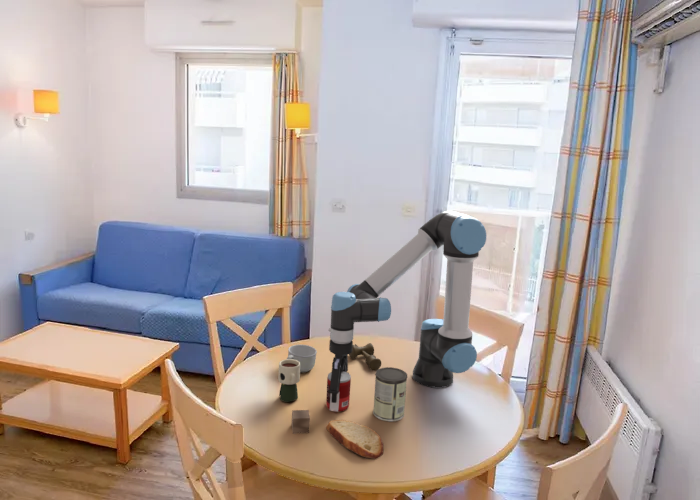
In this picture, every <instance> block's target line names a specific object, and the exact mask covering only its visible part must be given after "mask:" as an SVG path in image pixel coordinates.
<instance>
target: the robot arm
mask: <svg viewBox="0 0 700 500" xmlns="http://www.w3.org/2000/svg"><path fill="white" fill-rule="evenodd" d="M486 242H487V230H486V227H485V225H484V224H483V223H482V222H481V220H479V219H478V218H475V217H474V216H472V215H468V214H465V213H461V212H459V211H456V210H445V211H442V212H440V213H438V214H436V215H435V216H433V217H432V218H430V219H429V220H428V221H427V222H425V223H424V224H423V225H422V226H421V227H419V228H418V231H417V234H416V235H414V237H412V238H411V239H410V240H409V241H408V242H407V243H405V244H404V245H403V246H402V247H401V248H400V249H399V250H397V251H396V252H395V253H394V254H393V255H391V257H390V258H389V259H387V260H386V261H385V262H384V263H383V264H381V265H380V266H379V267H377V269H375V270H374V271H373V272H372V273H371V274H370V275H369V276H368V277H367V278H365V279H364V280H363V281H362V282H360V283H355V284H352V285H350V286H349V287H348V288H347V290H346V291H338V292H335V293H333V295H332V298H331V305H330V328H328V332H330V334H329V338H330V339H329V343H328V345H329V346H328V347H329V348H328V349H329V350H328V351H329V352H330V353H331V354H334V357H333V360H332V363H331V364H332V365H331V372H332V374H331V382H330V390H328V392H329V393H331V395H330V410H329V411H330V412H335V411H337V412H338V408H339V386H340V379H341V373H342V372H343V371H344V372H347V373H349V372H348V371H349V362H348V361H349V360H348V359H349V354H350V353H351V352H352V347H353V345H354V344H353V343H354V342H353V340H354V333H355V332H354V331H355V330H354V329H355V323H370V322H372V323H373V322H378V323H379V322H386V321H389V320H390V318H391V315H392V305H391V301H390V300H389V299H388V298H386V297H380V296H381V295H382V294H383V293H385V292H386V290H388V289H389V288H390V287H391V286H392V285H393V284H394V283H396V282H397V281H398V280H399V279H401V278H402V277H403V276H404V275H405V274H406V273H407V272H408V271H409V270H411V269H412V268H414V266H415V265H417V264H418V263H419V262H420V261H421V260H422V259H423V258H425V257H427V255H428V254H429V253H431V251H437V250H438V249H439V248H441V247H443V251H442V252H443V253H442V255H443V256H444V257H445V258H446V261H447V262H446V274H445V275H446V276H445V291H444V306H443V307H444V308H443V318H428V319H425V320H423V321H422V323H421V326H420V327H421V328H420V340H419V349H418V350H419V351H418V352H419V353H418V359H417V360H416V362H415V365H414V367H413V370H412V375H411V376H412V380H413V381H414V382H416V383H417V384H419V385H422V386H424V387H429V388H437V389H438V388H439V389H440V388H446V387H449V386H451V385H452V384H453V382H454V374H462V373H465V372H468V371H469V370H470V368H472V367H473V366H474V365H475V363H476V360H477V357H478V352H477V350H476V347H475V346H474V345H473V343H472V342H473V332H472V330H471V329H470V327H469V323H470V312H471V311H470V309H471V296H472V286H473V285H472V284H473V271H474V270H473V269H474V261H475V260H476V259H478V258H479V253H480V251H481V250H482V248H483V247H484V246H485V244H486ZM337 412H336V413H337ZM338 413H339V412H338Z"/></svg>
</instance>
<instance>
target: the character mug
mask: <svg viewBox="0 0 700 500" xmlns="http://www.w3.org/2000/svg"><path fill="white" fill-rule="evenodd" d="M300 376H301V372H300V362H299V361H297V360H293V359H287V358H286V359H283V360H280V361H279V362H278V378H277V379H278V382H279V383H280V389H279V394H278V395H279V396H278V397H279V400H280V401H281V402H284V403H288V402H293V401H296V400H297V399H298V397H299V396H298V393H299V391H298V386H297V384H298V383H299V382H300V378H301V377H300Z"/></svg>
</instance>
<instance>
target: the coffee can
mask: <svg viewBox="0 0 700 500" xmlns="http://www.w3.org/2000/svg"><path fill="white" fill-rule="evenodd" d="M374 374H375V378H374V379H375V381H374V382H375V384H374V398H373V411H372V415H374V417H375V418H377V419H378V420H381V421H383V422H397V421H401V420H402V419H403V418H404V417H405V406H406V404H405V403H406V394H407V393H406V392H407V381H408V373H407V372H406V371H404V370H403V369H401V368H397V367H389V366H387V367H380V368H379V369H378V370H375V373H374Z"/></svg>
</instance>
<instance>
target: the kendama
mask: <svg viewBox="0 0 700 500" xmlns="http://www.w3.org/2000/svg"><path fill="white" fill-rule="evenodd" d="M358 356H363V357H364V359H365V365H367V366H368V367H369V370H370V371H377V370H378V369H381V368H382V367H381V366H382V361H381V358H380V359H379V358H377V357H376V356H375V347H374V345H373V343H371V342H370V343H369V342H368V343H367V344H365V345H364V346H359V345H358V344H353V347H352V352H351V353H350V354H348V358H350V359H351V360H354V359H356V358H357V357H358Z"/></svg>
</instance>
